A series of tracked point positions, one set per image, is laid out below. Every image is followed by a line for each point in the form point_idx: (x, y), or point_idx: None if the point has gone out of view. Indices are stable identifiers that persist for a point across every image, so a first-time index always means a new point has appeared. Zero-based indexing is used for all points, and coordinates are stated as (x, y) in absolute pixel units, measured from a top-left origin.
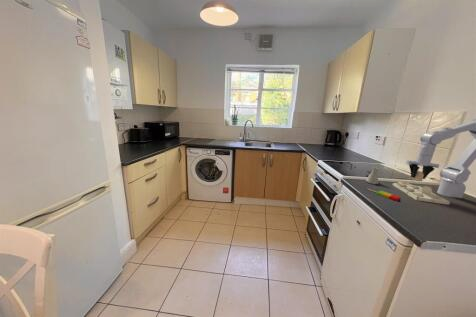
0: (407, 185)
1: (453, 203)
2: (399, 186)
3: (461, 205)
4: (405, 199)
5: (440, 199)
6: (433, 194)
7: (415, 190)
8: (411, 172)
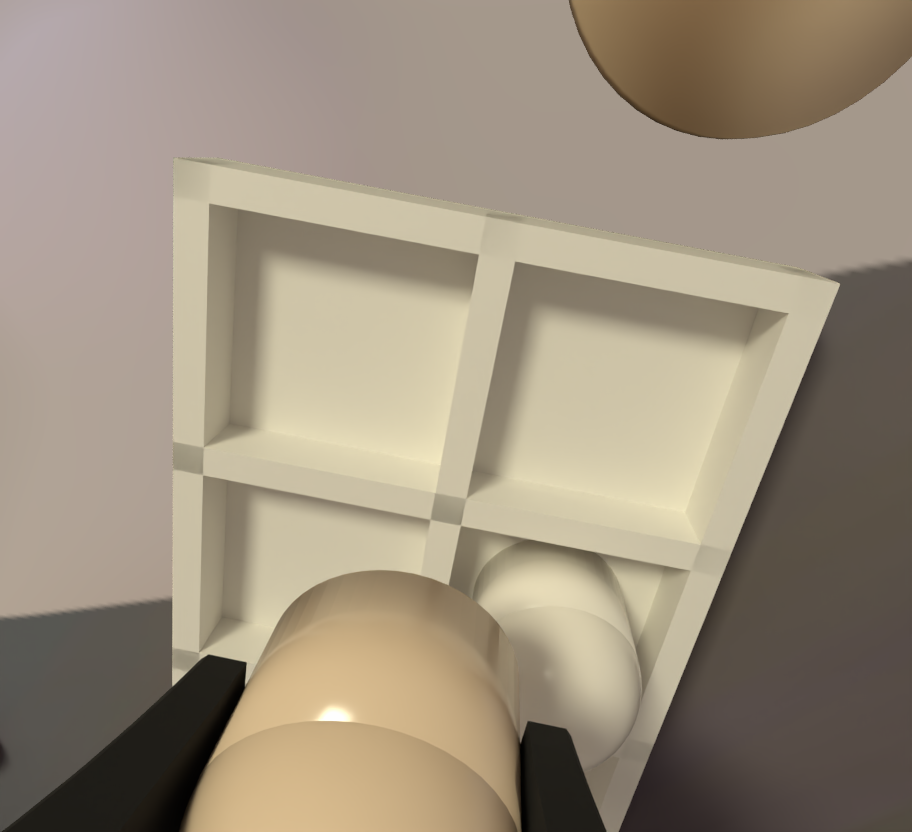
0: (474, 302)
1: (783, 779)
2: (178, 423)
3: (839, 820)
4: (77, 734)
5: (595, 784)
6: (642, 688)
7: (423, 557)
8: (93, 795)
